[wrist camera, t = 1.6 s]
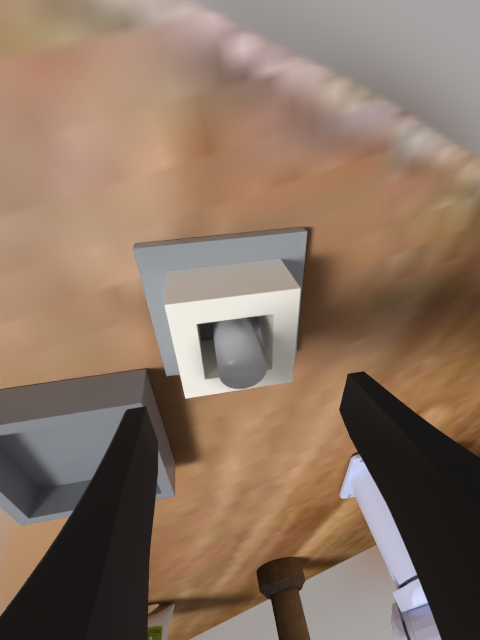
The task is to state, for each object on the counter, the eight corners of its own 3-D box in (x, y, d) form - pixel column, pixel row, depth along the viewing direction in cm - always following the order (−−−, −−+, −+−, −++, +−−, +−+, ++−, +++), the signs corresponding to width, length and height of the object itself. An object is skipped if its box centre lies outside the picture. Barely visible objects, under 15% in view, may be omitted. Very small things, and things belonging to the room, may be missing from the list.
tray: (145, 368, 18) (141, 402, 16) (175, 462, 24) (174, 496, 22) (-47, 396, 17) (-79, 437, 15) (36, 487, 23) (21, 525, 21)
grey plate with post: (303, 227, 14) (352, 273, 10) (292, 350, 19) (324, 416, 15) (134, 243, 14) (115, 301, 10) (166, 369, 18) (163, 444, 14)
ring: (280, 258, 15) (300, 288, 12) (277, 344, 18) (292, 381, 15) (166, 271, 14) (164, 305, 12) (184, 357, 17) (185, 398, 15)
